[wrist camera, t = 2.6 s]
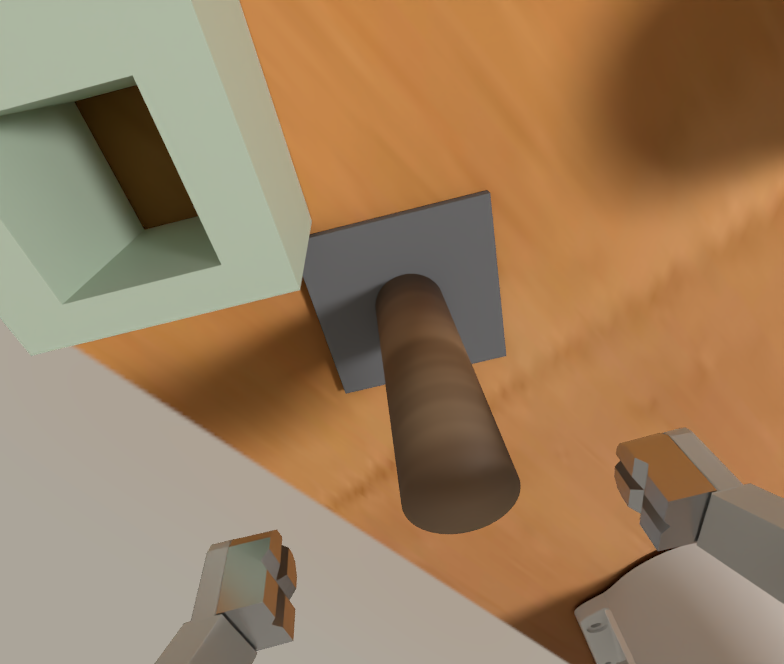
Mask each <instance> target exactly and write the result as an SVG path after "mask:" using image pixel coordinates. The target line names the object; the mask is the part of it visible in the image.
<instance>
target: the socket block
mask: <svg viewBox="0 0 784 664" xmlns="http://www.w3.org/2000/svg"><path fill="white" fill-rule="evenodd" d="M135 85H137V86H138V88H139V90H140V92H141V94H142V97H143V99H144V101H145V103H146V105H147V107H148V109H149V112H150V114H151V116H152V118H153V120H154V122H155V124H156V126H157V129H158V131H159V133H160V135H161V137H162V139H163V141H164V143H165V146H166V148H167V150H168V152H169V154H170V156H171V158H172V160H173V163H174V165H175V167H176V169H177V171H178V173H179V175H180V178H181V180H182V182H183V184H184V186H185V188H186V190H187V192H188V195H189V197H190V199H191V201H192V203H193V205H194V207H195V209H196V212H197V214H198V216H197V217H193V218H189V219H185V220H181V221H177V222H173V223H169V224H165V225H161V226H157V227H153V228H149V229H145V230H144V228H143V226H142V224H141V223H140V221H139V219H138V217H137V215H136V214H135V212H134V210H133V208H132V206H131V204H130V203H129V201H128V199H127V197H126V195H125V193H124V192H123V190H122V188H121V186H120V184H119V182H118V181H117V179H116V177H115V175H114V173H113V172H112V170H111V168H110V166H109V164H108V162H107V161H106V159H105V157H104V155H103V153H102V151H101V150H100V148H99V146H98V144H97V142H96V140H95V139H94V137H93V135H92V133H91V131H90V129H89V128H88V126H87V124H86V122H85V120H84V119H83V117H82V115H81V113H80V111H79V109H78V108H77V106H76V104H75V101H78V100H82V99H86V98H90V97H94V96H97V95H101V94H105V93H109V92H112V91H116V90H120V89H124V88H127V87H131V86H135ZM311 223H312V220H311V217H310V214H309V211H308V208H307V205H306V202H305V199H304V196H303V193H302V190H301V187H300V184H299V181H298V178H297V175H296V172H295V169H294V166H293V163H292V159H291V156H290V153H289V150H288V147H287V144H286V141H285V138H284V135H283V132H282V129H281V126H280V123H279V120H278V117H277V114H276V111H275V108H274V105H273V102H272V99H271V96H270V93H269V90H268V87H267V83H266V80H265V77H264V74H263V71H262V68H261V65H260V62H259V59H258V56H257V53H256V50H255V47H254V44H253V41H252V38H251V35H250V32H249V29H248V26H247V23H246V20H245V17H244V14H243V11H242V7H241V4H240V1H239V0H0V319H1V320H2V321H3V322H4V324H5V325H6V326H7V327H8V328H9V330H10V331H11V332H12V333H13V335H14V336H15V337H16V338H17V339H18V340H19V342H20V343H21V344H22V345H23V347H24V348H25V349H26V350H27V351H28V353H29V354H30V355H31V356H33V355H37V354H41V353H45V352H49V351H53V350H57V349H61V348H65V347H70V346H74V345H78V344H82V343H86V342H90V341H94V340H98V339H102V338H106V337H110V336H114V335H118V334H123V333H127V332H131V331H135V330H139V329H143V328H147V327H151V326H155V325H159V324H163V323H167V322H171V321H176V320H180V319H184V318H188V317H192V316H196V315H200V314H204V313H208V312H212V311H216V310H220V309H224V308H229V307H233V306H237V305H241V304H245V303H249V302H253V301H257V300H261V299H265V298H269V297H273V296H277V295H282V294H286V293H290V292H294V291H298V290H300V287H301V281H302V276H303V270H304V264H305V258H306V252H307V246H308V241H309V235H310V229H311Z"/></svg>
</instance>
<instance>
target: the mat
mask: <svg viewBox="0 0 784 664" xmlns="http://www.w3.org/2000/svg"><path fill="white" fill-rule="evenodd" d="M404 274H419V275H423V276H426V277H428V278H430V279H431V280H433V281H434V282H435V283H436V284H437V285H438V286H439V288H440V290H441V292H442V294H443V297H444V299H445V302H446V304H447V307H448V309H449V311H450V314H451V316H452V319H453V321H454V323H455V326H456V328H457V331H458V333H459V335H460V338H461V340H462V343H463V345H464V347H465V350H466V352H467V355H468V357H469V359H470V362H471V364H473V363H478V362H482V361H486V360H490V359H495V358H499V357H503V356H506V348H505V338H504V328H503V318H502V308H501V298H500V288H499V278H498V268H497V258H496V248H495V237H494V227H493V217H492V207H491V197H490V192H489V191H487V190H486V191H482V192H478V193H474V194H470V195H466V196H462V197H458V198H454V199H450V200H446V201H442V202H438V203H434V204H430V205H426V206H422V207H418V208H414V209H410V210H406V211H402V212H398V213H394V214H390V215H386V216H382V217H378V218H374V219H370V220H366V221H362V222H358V223H354V224H350V225H346V226H342V227H338V228H334V229H330V230H326V231H322V232H318V233H314V234H310V235H309V241H308V246H307V252H306V258H305V264H304V270H303V278H304V281H305V283H306V286H307V289H308V292H309V294H310V297H311V300H312V302H313V305H314V308H315V311H316V313H317V316H318V319H319V322H320V324H321V327H322V330H323V333H324V335H325V338H326V341H327V343H328V346H329V349H330V352H331V354H332V357H333V360H334V363H335V365H336V368H337V371H338V374H339V376H340V379H341V382H342V384H343V387H344V390H345V393H350V392H355V391H359V390H363V389H367V388H372V387H376V386H380V385H384V384H385V377H384V369H383V362H382V354H381V347H380V339H379V332H378V324H377V317H376V309H375V303H376V298H377V295H378V293H379V291H380V290H381V288H382V287H383V286H384V285H385V284H386V283H387V282H388V281H390V280H391V279H393V278H395V277H397V276H400V275H404Z"/></svg>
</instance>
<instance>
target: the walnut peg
mask: <svg viewBox="0 0 784 664" xmlns="http://www.w3.org/2000/svg"><path fill="white" fill-rule="evenodd" d="M375 309H376V317H377V324H378V332H379V339H380V347H381V354H382V362H383V369H384V377H385V384H386V392H387V399H388V407H389V414H390V422H391V429H392V437H393V444H394V452H395V459H396V467H397V474H398V482H399V489H400V497H401V504H402V509H403V512H404V514H405V516H406V517H407V519H408V520H409V521H410V522H411V523H412V524H414V525H415V526H417V527H419V528H421V529H423V530H426V531H429V532H433V533H439V534H458V533H465V532H470V531H474V530H477V529H480V528H483V527H485V526H487V525H490V524H491V523H493V522H495V521H497V520H498V519H500V518H501V517H502V516H504V515H505V514H506V513H507V512H508V511H509V510H510V509H511V508H512V507H513V505H514V504H515V502H516V501H517V499H518V496H519V493H520V480H519V477H518V475H517V472H516V470H515V467H514V465H513V463H512V460H511V458H510V455H509V453H508V451H507V448H506V446H505V443H504V441H503V439H502V436H501V434H500V431H499V429H498V427H497V424H496V422H495V419H494V417H493V415H492V412H491V410H490V407H489V405H488V403H487V400H486V398H485V395H484V393H483V391H482V388H481V386H480V383H479V381H478V379H477V376H476V374H475V371H474V369H473V367H472V364H471V362H470V359H469V357H468V355H467V352H466V350H465V347H464V345H463V343H462V340H461V338H460V335H459V333H458V331H457V328H456V326H455V323H454V321H453V319H452V316H451V314H450V311H449V309H448V307H447V304H446V302H445V299H444V297H443V294H442V292H441V290H440V288H439V286H438V285H437V284H436V283H435V282H434V281H433V280H431V279H430V278H428V277H426V276H423V275H419V274H404V275H400V276H397V277H395V278H393V279H391V280H390V281H388V282H387V283H386V284H385V285H384V286H383V287H382V288H381V290H380V291H379V293H378V295H377V298H376V303H375Z"/></svg>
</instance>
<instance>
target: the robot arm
mask: <svg viewBox="0 0 784 664" xmlns="http://www.w3.org/2000/svg"><path fill="white" fill-rule="evenodd" d="M616 455H617V456H618V458H619V459H620V462H619V463H618V464H617V465H616V466H615V475H614V477H615V480H616V484H617V488H618V490H619V492H620V494H621V496H622V498H623V499H624V501H625V502H626V504H627V506H628V507H630V508H632V509H633V510H635V511H637V512H639V513H640V514H641V515H640V525H641V527H642V528H643V530H644V531H645V533H646V534H647V536H648V537H649V539H650V540H651V542H652V543H653V545H654V546H655V548H656V549H657V551H661V550H666V549H671V548H675V547H678V548H675V549H672V550H670V551H667V552H665V553H662V554H660V555H658V556H656V557H654V558H652V559H650V560H648V561H646V562H644V563H642V564H641V565H639V566H637V567H636V568H634V569H633V570H631V571H630V572H628V573H627V574H626V575H624V576H623V577H622V578H621V579H620V580H618V581H617V582H616V583H615V584H614V585H613V586H612V587H611V588H609V589H608V590H607V591H605V592H604V593H602V594H600V595H598V596H596V597H595V598H593V599H591V600H589V601H587V602H585V603H584V604H582V605H580V606H579V607H578V608H577V609H576V610H575V612H574V614H575V616H576V619H577V621H578V623H579V626H580V628H581V630H582V632H583V635H584V637H585V639H586V642H587V644H588V646H589V649H590V651H591V653H592V655H593V658H594V660H595V662H596V664H784V498H782V497H779V496H777V495H775V494H773V493H771V492H768V491H766V490H764V489H762V488H760V487H757V486H755V485H753V484H751V483H750V484H744V485H743V484H742V483H741V482H740V481H739V480H738V479H737V478H736V477H735V476H734V474H733V473H732V472H731V471H730V470H729V469H728V468H727V467H726V466H725V465H724V464H723V463H722V462H721V461H720V460H719V459H718V458H717V457H716V456H715V455H714V454H713V453H712V452H711V451H710V450H709V449H708V448H707V447H706V446H705V445H704V443H703V442H702V441H701V440H700V439H699V438H698V437H697V436H696V435H695V434H694V433H693V432H692V431H691V430H689V429H687V428H679V429H675V430H671V431H668V432H664V433H657V434H653V435H650V436H646V437H642V438H638V439H635V440H631V441H627V442H623V443H620V444H619V445H618V446H617V451H616ZM680 546H681V547H680ZM296 581H297V574H296V566H295V560H294V557H293V554H292V553H291V551H290V549H289V548H288V547H285V546H283V545H282V536H281V535H280V533H279V532H278V531H277V530H273V531H269V532H264V533H260V534H256V535H252V536H247V537H243V538H239V539H233V540H229V541H225V542H222V543H218V544H213V545H211V547H210V549H209V551H208V552H207V555H206V559H205V563H204V567H203V572H202V576H201V580H200V584H199V588H198V593H197V597H196V601H195V605H194V610H193V614H192V618H191V621H190V622H186V623H184V624H183V626H182V627H181V628H180V630H179V631H178V632H177V634H176V635H175V637H174V638H173V639H172V641H171V642H170V644H169V645H168V646H167V647H166V649H165V650H164V652H163V653H162V654H161V656H160V657H159V658H158V660H157V661H156V663H155V664H252V663H253V661H254V659H255V657H256V655H257V652H256V651H258V650H262V649H265V648H269V647H273V646H277V645H280V644H284V643H287V642H291V641H293V637H294V621H295V608H294V607H293V605H292V604H291V602H290V601H289V600H290V598H291V597H292V595H293V593H294V591H295V590H296Z"/></svg>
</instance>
